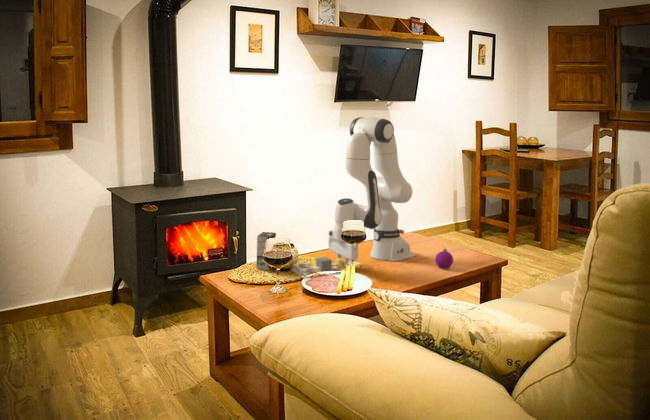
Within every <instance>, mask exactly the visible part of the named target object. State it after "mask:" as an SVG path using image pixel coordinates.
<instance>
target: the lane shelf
mask: <svg viewBox="0 0 650 420" xmlns="http://www.w3.org/2000/svg"><path fill="white" fill-rule="evenodd" d="M333 264H335V262H334V263H333ZM311 267H312V262H311V261H308V262H302V263H301V262H300V263H295V264H292V267H291V269H289V270H290V271H291V272H293V273H294V274H295V275H298V274H299V275H300V276H299V275H298V276H299V277H301V276H306V275H310V274H313V273H317V272H320V267H313V268H311ZM344 268H345V266H344V265H343V268H341V269H338V268H336V267H335V266H332V267H331V271H341V270H343V269H344ZM302 278H303V279H305V278H304V277H302Z"/></svg>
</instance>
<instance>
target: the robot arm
mask: <svg viewBox="0 0 650 420" xmlns="http://www.w3.org/2000/svg"><path fill="white" fill-rule="evenodd" d="M394 128H395V127H394V125H393V123H392V121H391V120H388V119H385V118H378V117H360V116H359V117H356V118H354V119H353V120H352V121H351V122H350V126H349V135H350V136H349V137H348V141H347V144H346V149H345V161H344V162H345V163H344V164H345V170H346V172H347V173H348V174H349V175H350V176H351V177H352V178H354V179H355V180H357V181H358V182H359V183H361V184H362V185H363V186H364V188H365V192H366V199H367V205H364V204H358V203H357V202H356V203H355V202H354V200H353V199H352V198H341V199H338V200H337V201H336V204H335V210H334V223H335V224H334V226H333V227H334V228H333V229H331V230H328V243H327V244H328V249H329V251H332V252H334V253H336V258H341V259H342V258H343V265H344V266H346V265H347V266H348V265H349V264H348V263H349V261H357V260H358V259H359V245H358V243H357V242H356V243H354V244H349V243H346V242H345V241H343V240H342V238H341V234H342V228H343V222H344V221H347V220H362V221H363V222H364V227H363V228H367V229H368V230H373V243H372V248H371V252H370V253H369V256H370V257H371V258H373V259H376V260H381V261H390V262H398V261H402V260H403V261H404V260H406V259H411V258H414V257H416V256H415V253H413V252H412V251H411V245H410V243H409V242H407V240H405V239H404V238H403V237H402V236H401V235H404V234H405V230H403V229H399V228H398V227H399V226H398V225H399V213H398V211H397V209H395V207H394V206H393V204H392V203H394V204H405V203H408V202H409V201H410V200H411V198H412V197H413V187H412V185H411V184H410V183H409V181H407V180H406V178H405V177H404V175H403V173H402V171H401V168H400V165H399V158H398V157H399V156H398V148H397V146H398V145H397V141H396V136H395V129H394ZM371 144H373V160H374V168H375V170H376V171H377V172H378V173H379V174H380V175H381V176H377V174H376V172H375V171H374V170H373V168H372V165H371Z"/></svg>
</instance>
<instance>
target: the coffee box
mask: <svg viewBox="0 0 650 420" xmlns="http://www.w3.org/2000/svg"><path fill="white" fill-rule="evenodd" d="M276 236H277V233H276V232H271V231H270V232H269V231H262V232H261V233H260V234H258V235H257V237H256V270H261V271H270V270H272V269H273V268H272V267H271V266H269V265H268V264H267V263H265V262H264V261H263V254H264V249H265V242H266V240H267V239H269V238H275V237H276ZM271 268H272V269H271Z"/></svg>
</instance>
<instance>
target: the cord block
mask: <svg viewBox="0 0 650 420" xmlns="http://www.w3.org/2000/svg"><path fill="white" fill-rule="evenodd" d="M341 258H342V257H341ZM341 258H337V257H336V258H335V260H334V263H335V264H334V263H333V261H332V259H331V258H329V257H327V256H324V257H316V260H315V261H316V262H315V263H316V265H315V266H316V267H320V271H331V267H332V266H335V267H336V268H338V269H341V268H343V262H344V258H343V259H341Z"/></svg>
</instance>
